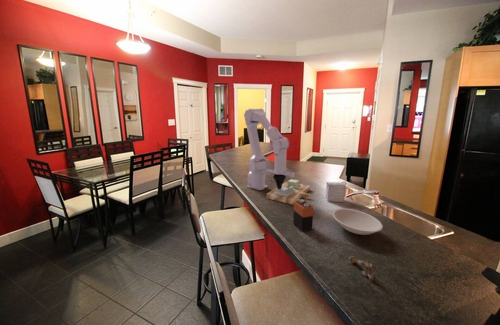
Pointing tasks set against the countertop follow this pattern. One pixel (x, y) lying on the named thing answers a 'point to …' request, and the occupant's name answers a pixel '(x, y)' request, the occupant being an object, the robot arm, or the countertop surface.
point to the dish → (357, 221)
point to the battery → (303, 215)
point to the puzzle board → (292, 198)
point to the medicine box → (335, 192)
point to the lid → (285, 191)
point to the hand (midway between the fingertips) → (279, 188)
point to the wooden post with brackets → (363, 263)
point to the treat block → (293, 183)
